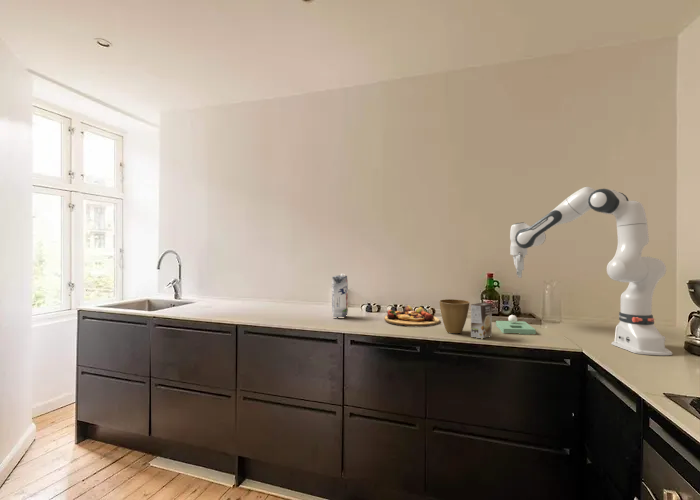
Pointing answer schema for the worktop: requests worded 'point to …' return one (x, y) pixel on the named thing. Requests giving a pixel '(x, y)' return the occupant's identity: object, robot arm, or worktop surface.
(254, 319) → the worktop surface
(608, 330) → the worktop surface
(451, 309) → the plant pot
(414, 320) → the wooden plate with food
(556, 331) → the worktop surface
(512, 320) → the ball
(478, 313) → the coffee box
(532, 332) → the putting board
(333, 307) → the juice carton
